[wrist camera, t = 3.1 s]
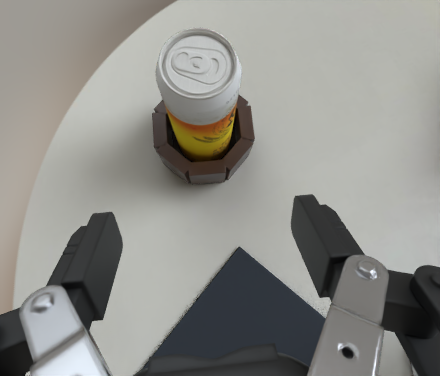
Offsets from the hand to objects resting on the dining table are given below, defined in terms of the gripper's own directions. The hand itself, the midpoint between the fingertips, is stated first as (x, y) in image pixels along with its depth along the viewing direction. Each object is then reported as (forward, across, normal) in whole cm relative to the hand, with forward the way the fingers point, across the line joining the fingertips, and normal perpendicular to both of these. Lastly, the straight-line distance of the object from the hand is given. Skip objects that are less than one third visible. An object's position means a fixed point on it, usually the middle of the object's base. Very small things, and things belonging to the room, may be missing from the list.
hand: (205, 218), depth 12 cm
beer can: (+21, 0, +6) cm, 22 cm away
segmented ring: (+21, 0, +6) cm, 22 cm away
